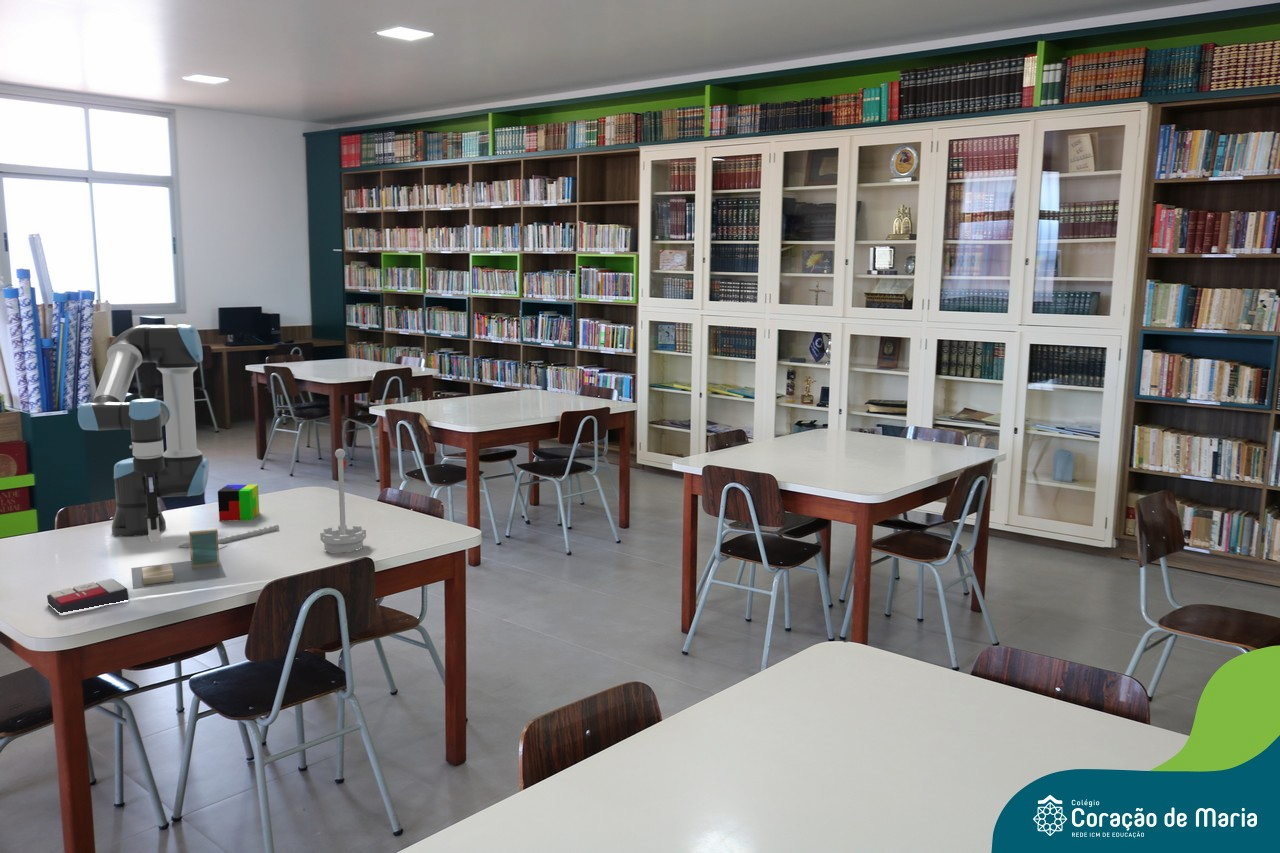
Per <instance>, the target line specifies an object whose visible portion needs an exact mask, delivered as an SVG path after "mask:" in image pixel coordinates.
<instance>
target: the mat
mask: <svg viewBox="0 0 1280 853" xmlns="http://www.w3.org/2000/svg"><path fill="white" fill-rule="evenodd" d="M169 564H171V566H172V571H173V578H174V581H170V582H162V583H154V584H147V585H144V584H143V575H142V568H144V567H153V566H161V565H169ZM130 570H131V581H132V582H131V583H132V590H138V589H145V588H152V587H160V586H169V585H175V584H184V583H192V582H198V581H206V580H207V581H208V580H214V579H215V580H216V579H222V578H226V577H227V576H226V573H225V570H224V568H223V565H222V563H221V560H220V559H219V565H216V566H208V567H200V568H191V560H187V561H179V562H171V563H170V562H169V563H162V564H153V565H145V566H144V565H143V566H137V567H131V569H130Z"/></svg>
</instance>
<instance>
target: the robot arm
mask: <svg viewBox="0 0 1280 853" xmlns="http://www.w3.org/2000/svg"><path fill="white" fill-rule="evenodd" d="M203 354H204V353H203V345H202V340H201V336H200V334H199V332H198V329H197V328H196V327H195V326H193V325H192V324H180V323H178V324H139V325H135V326H132V327H130V328H128V329H126V330H124V331H123V332H121V333H120V334H119V335H118V336H116V337H115V338H114V340H113V341H112V342H111V343H110V345H109V347H108V349H107V351H106V359H107V362H106V365H105V367H104V370H103V373H102V376H101V379H100V381H99V384H98V386H97V389H96V391H95V394H94V397H93V399H92V402H86V403H82V404H80V405H79V406H78V409H77V421H78V425H79V427H80V428H81V429H82V430H84V431H97V432H98V431H112V430H113V431H116V430H130V434H131V435H130V437H131V444H130V445H129V449H130V450H132V456H133V457H129V458H126V459H122V460H119V461H118V462H116V463H115V464H114V466H113V482H114V493H115V505H116V510H115V513H114V516H113V521H112V524H111V534H112V535H114V536H117V537H142V536H148V542H155V541H161V534H160V533H161V532H162V531H164V530H166V529H167V524H166V519H165V517H164V514H163V513H162V510H161V508H160V506H159V500H158V498H171V497H172V498H174V497H191V496H192V497H193V496H194V497H195V496H200V495H203V494H204V493H205V491H206V488H207V484H208V480H209V471H210V465H209V460H208V459H207V458H205V457H203V452H202V451H201V450H200V449H198V445H197V426H196V411H195V410H196V409H195V390H194V372H195V371H196V370H197V369H198V368H199V366H198V363H200V362H203V360H204V355H203ZM143 363H155V364H156V370H158V371H159V372H160V373H161V374H162V388H163V400H160V399H157V398H149V397H148V398H136V399H132V400H130V401H129V402H127V401H125V400H126V397H127V394H128V392H129V389H130V386H131V382H132V381H133V377H134V374H135V372H136V369H137V368H139V367H140V366H141V365H142V364H143ZM164 426H165V438H166V439H165V440H166V442H165V444H166V450H165V449H164V439H163V428H162V427H164ZM164 450H165V451H164Z"/></svg>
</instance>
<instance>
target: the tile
mask: <svg viewBox="0 0 1280 853" xmlns="http://www.w3.org/2000/svg"><path fill="white" fill-rule="evenodd" d="M168 564H169V563H168ZM143 567H144V566H143ZM142 575H143V584H144V585H147V584H154V583H162V582H170V581H174V578H173V571H172V566H171V564H169V565H161V566H153V567H144V568H142Z"/></svg>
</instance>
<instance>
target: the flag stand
mask: <svg viewBox="0 0 1280 853" xmlns="http://www.w3.org/2000/svg"><path fill="white" fill-rule="evenodd" d="M345 456H346V451H345V450H344V449H343V448H338V449H336V451H335V453H334V457H336V459H337V471H338V472H337V473H338V474H337V475H338V476H337V478H338V499H339V500H338V501H339V503H338V504H339V525H337V528H336V529H333V527H332V526H328V527H324V528H323V530H320V531H319V540H320V541H321V542H322V543H323V544H324V545H323V546H324V548H323V549H324V551H325V550H326V551H325V552H327V551H328V552H327V553H332V552H336V553H335V554H340V553H339V552H346V553H350V552H349V551H353V550H356V549H359V548H361V547H362V546H363V547H364V540H365V539H366V538H367V529H366V527H362V526H361V525H359V524H357V525H356V524H354V525H352V528H348V526H347V524H346V505H345V504H346V501H345V498H346V497H345V474H344V473H345V472H344V469H345V467H346V466H347V464H348V462H347V461H346V460H345V459H344V458H345ZM363 547H362V548H363ZM362 548H361V549H362ZM359 550H360V549H359ZM353 552H354V551H353Z"/></svg>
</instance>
